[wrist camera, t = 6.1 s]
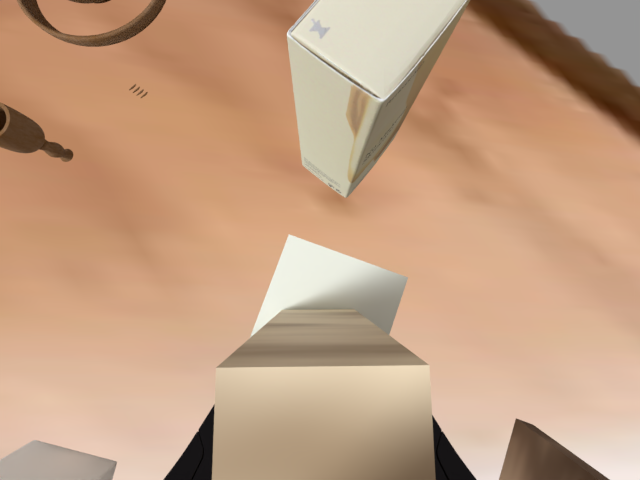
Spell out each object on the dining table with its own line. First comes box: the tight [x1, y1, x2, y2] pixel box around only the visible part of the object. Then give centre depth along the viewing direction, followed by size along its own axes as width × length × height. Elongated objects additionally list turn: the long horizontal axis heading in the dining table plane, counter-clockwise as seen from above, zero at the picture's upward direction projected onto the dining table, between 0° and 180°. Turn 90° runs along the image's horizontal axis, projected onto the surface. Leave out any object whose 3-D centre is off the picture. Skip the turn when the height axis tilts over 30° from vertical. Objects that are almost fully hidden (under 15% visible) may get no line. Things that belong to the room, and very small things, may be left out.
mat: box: [250, 234, 408, 337], centre depth 21 cm, size 9×9×1 cm
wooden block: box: [212, 309, 436, 480], centre depth 14 cm, size 5×5×14 cm
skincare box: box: [287, 0, 470, 198], centre depth 16 cm, size 6×4×12 cm
